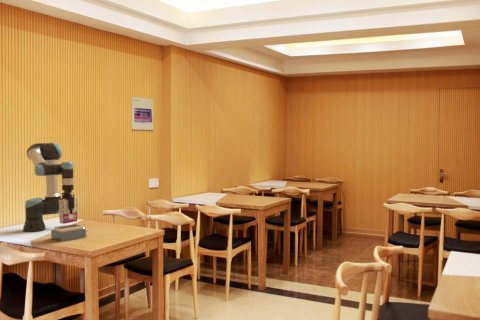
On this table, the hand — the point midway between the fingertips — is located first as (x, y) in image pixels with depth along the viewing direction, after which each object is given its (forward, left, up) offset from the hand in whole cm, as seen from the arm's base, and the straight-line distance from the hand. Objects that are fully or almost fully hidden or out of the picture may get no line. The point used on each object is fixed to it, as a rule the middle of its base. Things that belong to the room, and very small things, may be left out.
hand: (68, 218), depth 312 cm
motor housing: (0, +3, -14) cm, 14 cm away
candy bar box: (0, 0, -3) cm, 3 cm away
